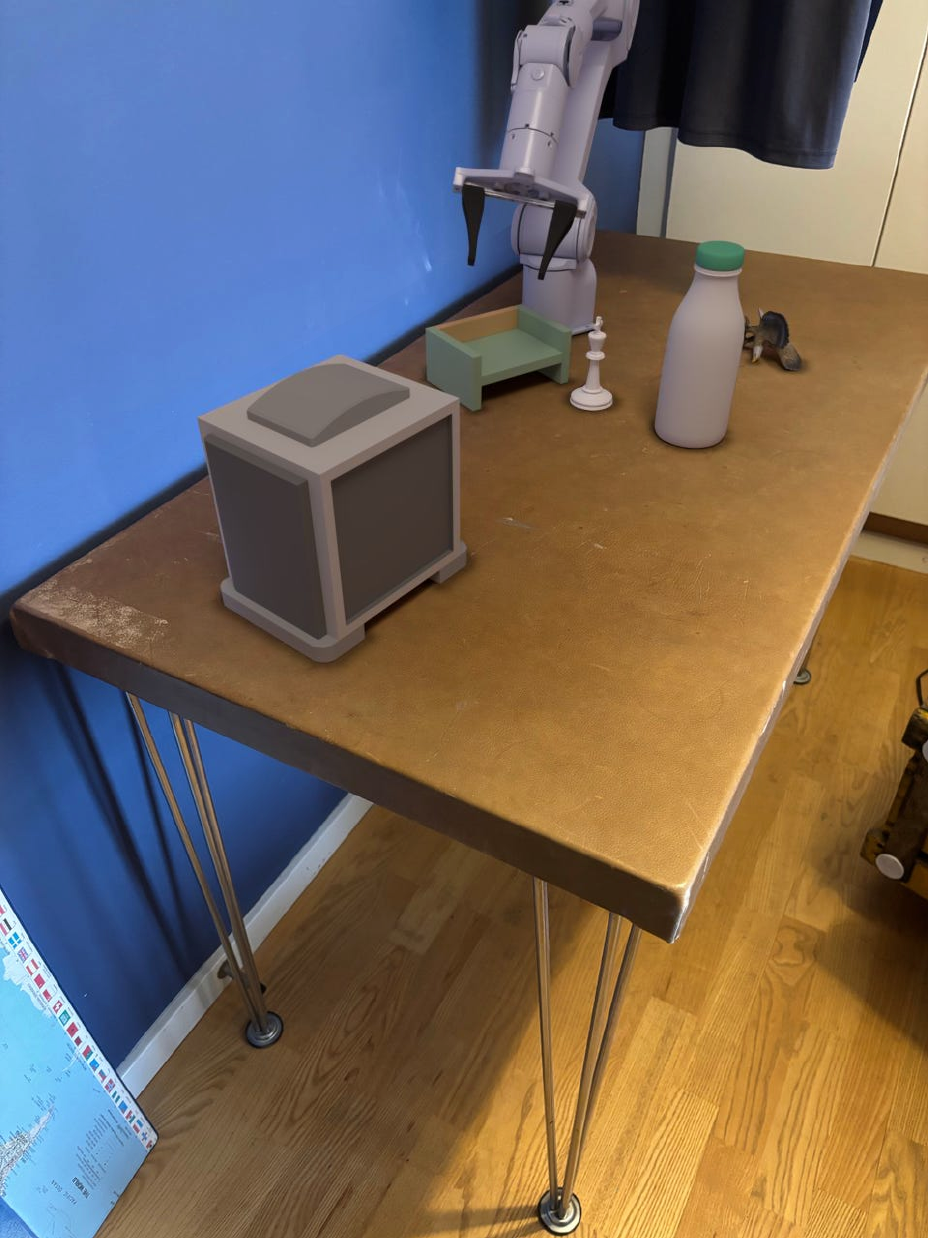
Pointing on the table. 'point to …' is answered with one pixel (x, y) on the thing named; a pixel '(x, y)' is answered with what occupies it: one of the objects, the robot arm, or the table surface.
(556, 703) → the table surface
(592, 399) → the chess piece
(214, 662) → the table surface
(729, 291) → the milk bottle
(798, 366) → the brown toy animal
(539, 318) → the shelf
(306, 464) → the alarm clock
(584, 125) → the robot arm
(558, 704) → the table surface
